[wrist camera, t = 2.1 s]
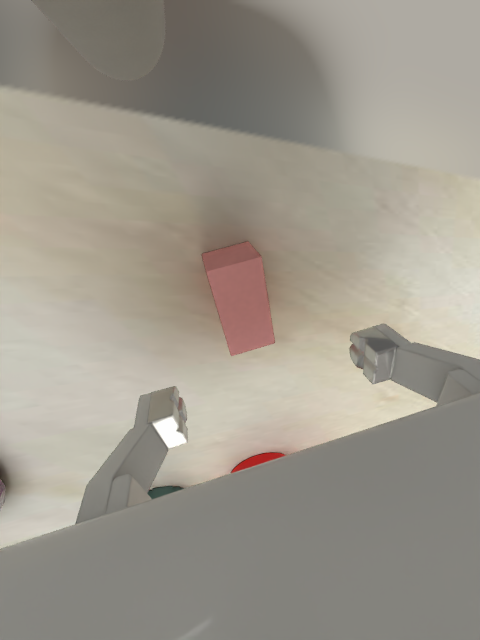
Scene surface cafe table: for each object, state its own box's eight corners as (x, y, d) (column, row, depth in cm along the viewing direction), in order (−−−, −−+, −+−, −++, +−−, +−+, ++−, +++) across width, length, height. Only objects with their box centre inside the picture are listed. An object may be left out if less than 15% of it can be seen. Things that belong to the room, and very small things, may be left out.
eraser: (201, 253, 15) (206, 271, 13) (248, 241, 16) (261, 256, 13) (223, 330, 19) (231, 356, 16) (262, 319, 19) (275, 343, 16)
